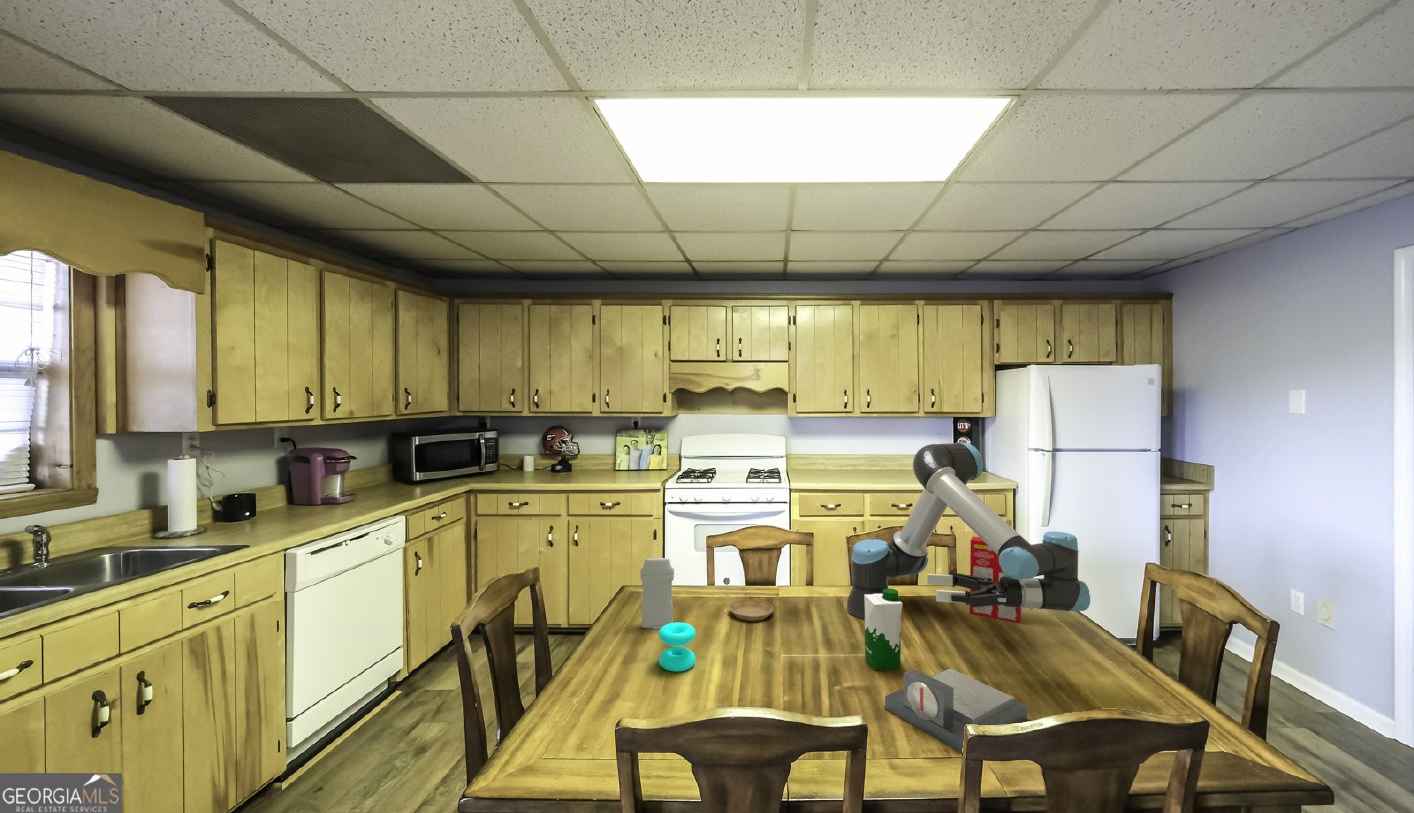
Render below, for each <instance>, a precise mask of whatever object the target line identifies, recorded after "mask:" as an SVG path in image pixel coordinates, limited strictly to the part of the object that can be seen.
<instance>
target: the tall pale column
mask: <svg viewBox="0 0 1414 813" xmlns="http://www.w3.org/2000/svg"><path fill="white" fill-rule="evenodd" d="M639 573H640V575H639V576H640V578H639V579H640V581H641V583H642V584H641V586H642V599H643V600H642V603H641V628H642V629H648V630H649V629H650V630H651V629H653V630H660V629H661V628H662V627H663V626H664V625H667V624H669V623H674V604H673V600H672V596H673V589H672V588H673V581H674V579H675V568H673V567H672V564H671V560H670V558H665V557H653V558H647V559H644V563H643V567H642V568H641V569H640V571H639Z"/></svg>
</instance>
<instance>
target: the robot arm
mask: <svg viewBox="0 0 1414 813" xmlns="http://www.w3.org/2000/svg"><path fill="white" fill-rule="evenodd" d="M981 454H982V453H980V451H979V450H978V449H977V448H976V446H974V445H972V444H970V443H966V442H958V441H957V442H955V443H951V442H950V443H932V444H927V445H924V446H923V447H921V448H920V449H919V450H918V451H917V452H916V454H915V455H914V458H913V461H912V470H913V473H914V476H915V478H916V480H917V481H918V482H919V484H920V485H921V486H922V488H923V490H922V492H921V493H920V496H919V497H918V500H917V501H916V502H915V505H914V507H913V508H912V510H911V512H910V514H909V516H908V518H907V519H906V522H904V523H905V524H904V525H903V527H902V530H898V531H895V533H894V534H893V535H892V537H891V539H890V541H889V542H887V541H885V540H882V539H877V538H876V539H875V538H873V539H863V540H859V541H858V542H856V543H855V544H854V545H853V548H852V555H851V561H852V564H851V565H852V570H851V571H852V573H851V574H852V579H851V580H852V581H851V582H852V585H851V590H850V593H849V596H848V599H847V602H846V611H847V612H848V614H850V615H852V616H853V617H856V618H859V619H864V620H865V600H864V595H867V594H883V589H886V588H889V579H896V578H901V577H902V578H903V577H908V576H910V577H912V576H915V575H917V574H920V573H922V572H923V571H924V570H926V568H927V565H928V562H929V558H928V556H929V552H928V547H927V546H928V545H927V542H928V541H929V539H930V537H931V536H932V533H933V532H934V530H935V529H936V527H937V525H938V523H939V521H940V520H941V518H942V516H943V515H944V514H945V511H946V509H947V508H949V509H951V511H952V512H954V514H955V515H957V517H958V518H960V519H961V521H963V523H965V524H966V526H967V527H969V529H970V530H972V531H973V532H974V533H975V535H977V537H980V538H981V539H982V540H983V541H984V542H985V543H986V544H987V545H988V546H989V547H990V548H991V549H992V550H993V551H994V552H995V553H996V554H997V555H998V556H999V565H1000V566H1001V568H1002V571H1003V572H1004V573H1005V574H1006V575H1007V576H1008V577H1005V576H1003V577H1001V578H1000V581H999V583H993V581H992V579H991V578H982V577H976V576H970V574H965V573H958V572H952V574H936V573H935V574H934V573H927V574H926V584H927V585H932V586H934V585H935V586H947V587H948V586H951V587H952V588H954V587H956V586H958V587H960V588H961V587H962V588H965V589H969V591H968V590H964V591H960V590H959V591H958V590H941V589H937V590H936V592H935V593H936V596H935V597H936V598H935V600H936V603H937V602H938V603H939V602H940V603H956V604H965V605H968V606H969V608H970V607H982V606H991V605H1004V606H1005V607H1020V606H1021V607H1022V609H1023V608H1026V609H1029V610H1030V611H1033V610H1034V609H1036V610H1037V609H1040V610H1042V609H1043V610H1054V611H1065V612H1084V611H1087V610H1088V609H1089V607H1090V606H1091V595H1090V589H1089V586H1088V585H1087V584H1086V582H1084V581H1083V580H1079V544H1078V538H1077V537H1076V536H1075V535H1074V534H1072V533H1068V532H1063V531H1047V532H1044V534H1043V536H1042V537H1043V538H1042V542H1039V543H1035V544H1031V543H1030V542H1028V540H1026V539H1025V538H1024V537H1023V536H1022V535H1021V534H1020V533H1018V531H1016V530H1015V529H1014V528H1013V527H1012V526H1011V525H1010V524H1008V522H1006V521H1005V519H1003V518H1002V517H1001V516H1000V515H999V514H998V513H996V511H994V509H992V508H991V507H990V506H989V505H988V504H987V503H986V502H985V501H984V500H983V499H981V498H980V497H979V495H977V494H976V493H975V492H974V491H973V490H972V489H971V488H969V486H967V484H968V482H969V481H975V480H977V479H978V478H979V477H980V476H981V475H982V473H983V470H984V461H983V459H982V455H981ZM1041 576H1043V578H1039V577H1041ZM1037 577H1038V578H1037ZM970 589H972V590H975V591H973V592H970Z"/></svg>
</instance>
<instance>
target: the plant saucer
mask: <svg viewBox="0 0 1414 813" xmlns="http://www.w3.org/2000/svg"><path fill="white" fill-rule="evenodd" d="M728 608H729V610H730V612H731V613H732V614H733V615H734V616H735V617H736V618H737V619H740V620H742V621H746V622H757V621H762V620H765V619H766V618H768V617H769V616H770V615H771V614H772V613H773V611H774V606H773V605H771V603H769V602H766V601H762V600H758V599H741V600H736V601H732V602H731V603H730V605H728Z"/></svg>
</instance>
